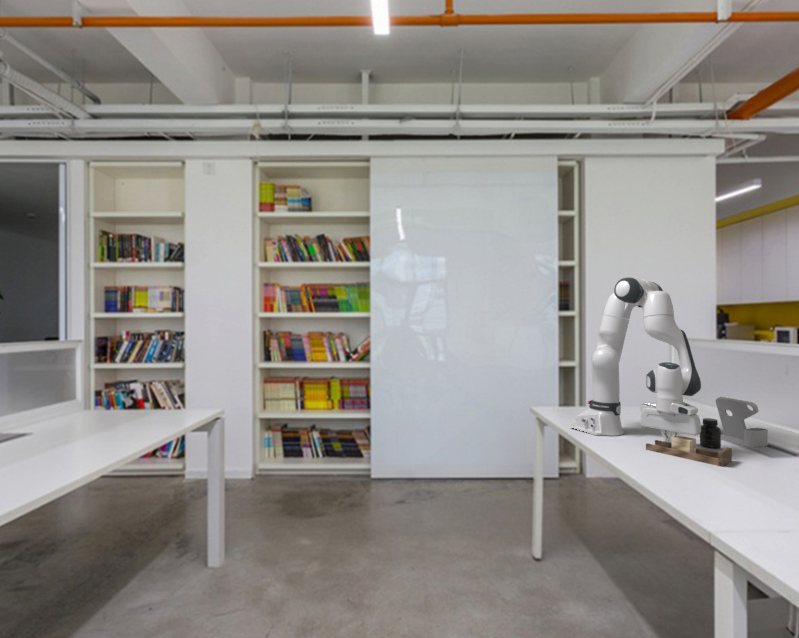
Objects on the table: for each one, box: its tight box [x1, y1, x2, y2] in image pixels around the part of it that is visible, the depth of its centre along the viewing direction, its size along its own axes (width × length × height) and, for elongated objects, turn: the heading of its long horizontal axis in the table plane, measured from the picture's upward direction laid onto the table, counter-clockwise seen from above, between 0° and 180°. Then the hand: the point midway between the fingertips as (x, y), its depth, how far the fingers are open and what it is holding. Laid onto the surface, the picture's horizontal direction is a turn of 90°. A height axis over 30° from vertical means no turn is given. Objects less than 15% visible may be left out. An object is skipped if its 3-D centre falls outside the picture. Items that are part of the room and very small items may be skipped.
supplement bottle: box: [699, 417, 722, 450], centre depth 177 cm, size 7×7×12 cm
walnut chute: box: [645, 439, 733, 467], centre depth 165 cm, size 25×9×6 cm, turn 37°
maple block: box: [672, 435, 697, 454], centre depth 166 cm, size 6×6×6 cm
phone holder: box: [715, 396, 770, 448], centre depth 189 cm, size 17×10×18 cm, turn 17°
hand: (669, 442), depth 170 cm, fingers closed
